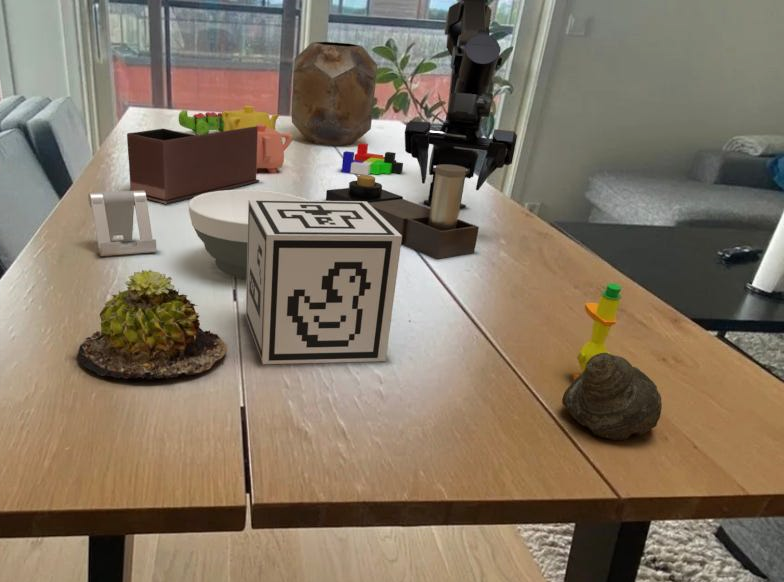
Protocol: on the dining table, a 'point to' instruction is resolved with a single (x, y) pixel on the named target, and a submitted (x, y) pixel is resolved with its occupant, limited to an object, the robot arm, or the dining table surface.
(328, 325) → the block
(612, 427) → the seashell
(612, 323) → the toy figure
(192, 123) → the toy crocodile
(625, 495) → the dining table surface
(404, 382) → the dining table surface
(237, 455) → the dining table surface
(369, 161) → the building blocks
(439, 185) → the tin
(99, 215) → the tablet stand
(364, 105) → the planter
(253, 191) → the bowl
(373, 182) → the button
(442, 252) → the stepped brown tray
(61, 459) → the dining table surface
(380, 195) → the yellow push button box
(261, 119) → the teapot
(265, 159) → the teapot
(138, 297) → the cactus
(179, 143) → the desk organizer
